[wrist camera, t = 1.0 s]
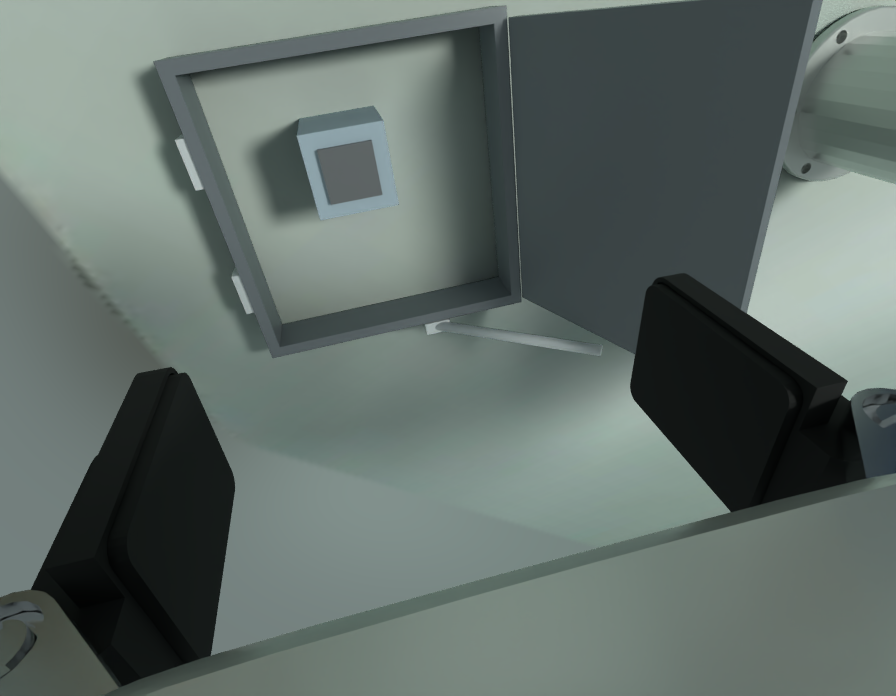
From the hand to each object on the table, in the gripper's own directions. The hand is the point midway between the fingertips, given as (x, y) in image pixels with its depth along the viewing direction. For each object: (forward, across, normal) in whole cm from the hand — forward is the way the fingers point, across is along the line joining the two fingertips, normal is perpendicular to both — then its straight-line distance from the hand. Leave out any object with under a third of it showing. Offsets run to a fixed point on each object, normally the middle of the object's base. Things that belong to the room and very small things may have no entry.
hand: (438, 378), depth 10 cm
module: (+30, 0, +2) cm, 30 cm away
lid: (+18, -14, +4) cm, 23 cm away
